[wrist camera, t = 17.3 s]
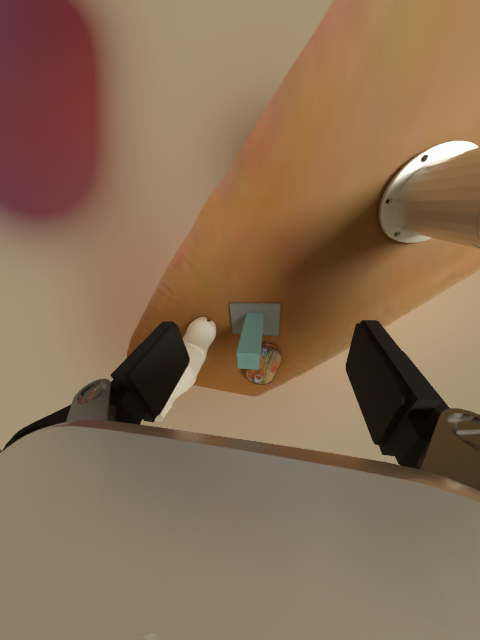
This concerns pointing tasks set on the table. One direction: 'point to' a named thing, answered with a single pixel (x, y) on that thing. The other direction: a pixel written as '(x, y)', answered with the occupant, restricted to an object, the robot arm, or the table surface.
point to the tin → (266, 365)
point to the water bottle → (192, 357)
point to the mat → (268, 309)
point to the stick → (250, 342)
